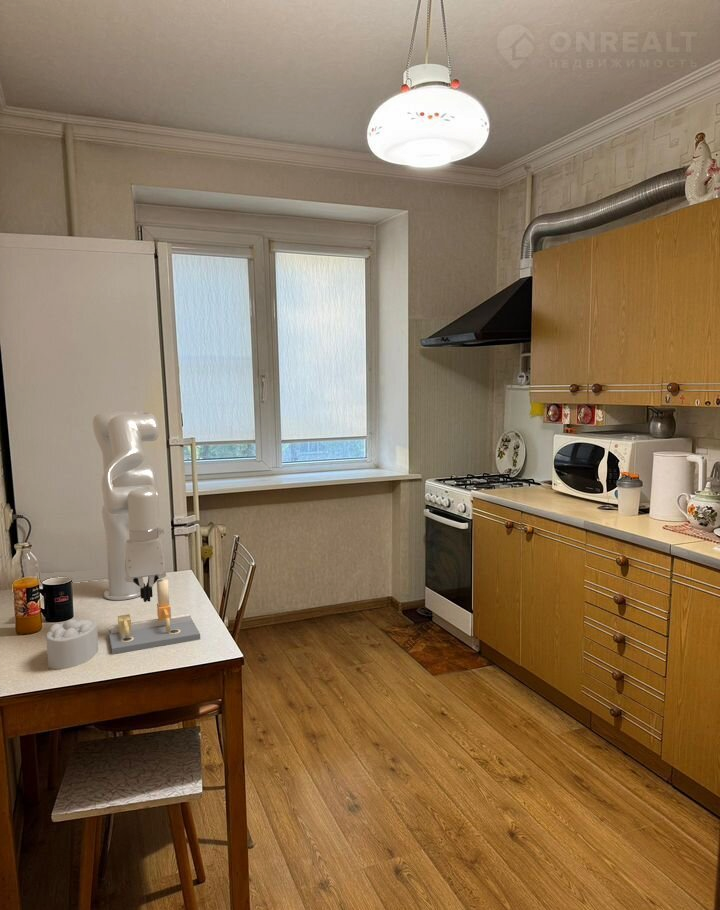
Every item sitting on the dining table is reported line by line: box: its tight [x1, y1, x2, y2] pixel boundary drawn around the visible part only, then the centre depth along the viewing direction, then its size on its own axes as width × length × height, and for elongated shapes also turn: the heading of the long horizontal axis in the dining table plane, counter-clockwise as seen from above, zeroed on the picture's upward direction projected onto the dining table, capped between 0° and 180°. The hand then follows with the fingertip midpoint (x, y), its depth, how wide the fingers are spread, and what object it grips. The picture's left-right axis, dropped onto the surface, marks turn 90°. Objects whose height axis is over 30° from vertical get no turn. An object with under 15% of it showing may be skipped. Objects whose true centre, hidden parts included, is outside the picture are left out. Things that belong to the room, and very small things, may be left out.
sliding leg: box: [156, 578, 172, 632], centre depth 172 cm, size 10×3×12 cm, turn 25°
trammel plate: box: [108, 613, 201, 655], centre depth 170 cm, size 14×22×5 cm, turn 115°
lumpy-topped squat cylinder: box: [46, 618, 99, 670], centre depth 157 cm, size 10×13×9 cm
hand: (146, 600), depth 173 cm, fingers closed
